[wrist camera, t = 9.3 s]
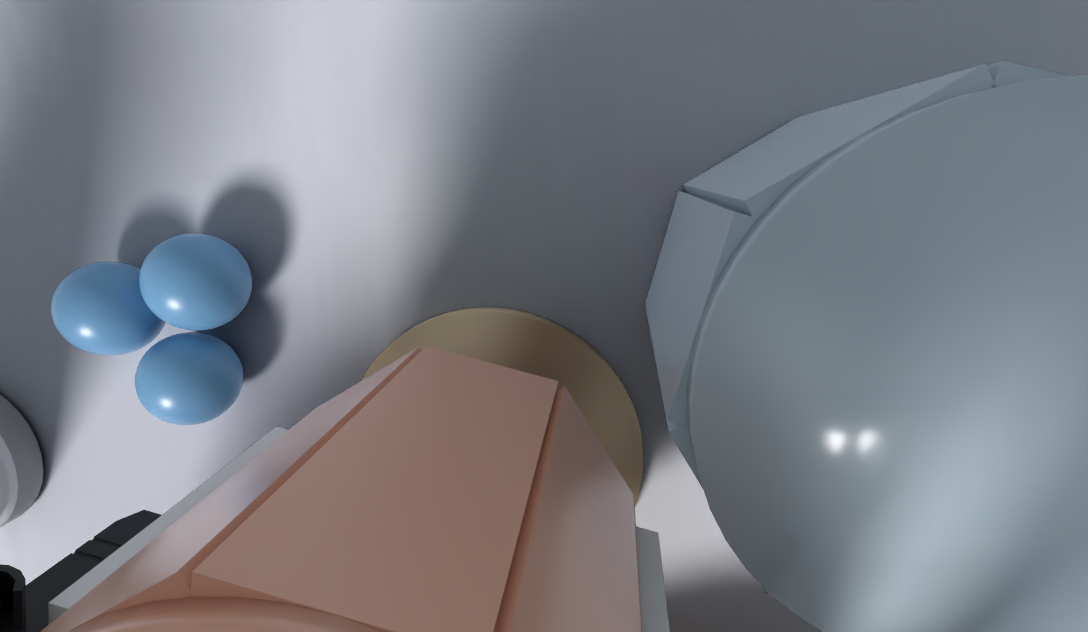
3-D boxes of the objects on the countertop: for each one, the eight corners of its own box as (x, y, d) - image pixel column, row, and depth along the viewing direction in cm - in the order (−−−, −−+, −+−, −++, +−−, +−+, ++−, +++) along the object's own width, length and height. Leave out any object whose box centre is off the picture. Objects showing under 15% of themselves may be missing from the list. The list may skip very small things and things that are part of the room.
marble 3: (266, 334, 20) (205, 363, 17) (257, 412, 21) (198, 452, 18) (184, 312, 20) (111, 336, 17) (179, 390, 21) (108, 426, 18)
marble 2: (276, 241, 19) (214, 254, 16) (266, 326, 20) (206, 353, 17) (190, 218, 19) (114, 227, 16) (185, 304, 20) (111, 327, 17)
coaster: (680, 352, 18) (682, 359, 18) (599, 608, 21) (598, 620, 20) (378, 272, 19) (370, 276, 18) (336, 530, 21) (329, 541, 21)
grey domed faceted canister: (1034, 170, 16) (1588, 173, 7) (902, 459, 18) (1179, 745, 9) (707, 92, 16) (816, -1, 7) (621, 383, 19) (623, 583, 10)
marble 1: (191, 267, 20) (117, 285, 17) (186, 349, 20) (114, 379, 17) (110, 245, 20) (22, 258, 17) (107, 327, 20) (24, 353, 18)
